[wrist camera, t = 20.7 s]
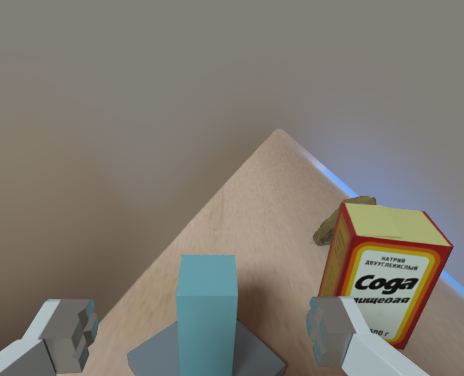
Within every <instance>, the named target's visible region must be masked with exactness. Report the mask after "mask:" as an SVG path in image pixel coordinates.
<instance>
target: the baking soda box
mask: <svg viewBox="0 0 464 376" xmlns="http://www.w3.org/2000/svg"><path fill="white" fill-rule="evenodd" d="M453 247H454V246H453V245H452V244H451V243H450V241H449V240H448V239H447V238H446V237H445V235H444V234H443V233H442V232H441V231H440V230H439V228H438V227H437V226H436V225H435V223H434V222H433V221H432V220H431V218H430V217H429V216H428V215H427V214H426V212H424V211H414V210H405V209H395V208H386V207H384V206H380V205H379V206H378V205H366V204H352V203H341V205H340V209H339V213H338V217H337V221H336V225H335V229H334V233H333V237H332V241H331V245H330V249H329V253H328V257H327V261H326V265H325V270H324V274H323V278H322V282H321V286H320V290H319V294H318V297H330V296H337V297H338V296H351V297H352V298H354V300H355V302H356V304H357V306H358V308H359V310H360V312H361V314H362V316H363V317H364V319H365V321H366V323H367V325H368V327H369V329H370V331H371V333H376V334H377V335H378V336H380V337H381V338H382V339H384V340H385V341H386V342H387V343H389V344H390V345H391V346H392V347H394V348H395V349H402V350H404V348H405V346H406V344H407V342H408V340H409V338H410V336H411V334H412V332H413V330H414V328H415V326H416V323H417V321H418V319H419V317H420V315H421V313H422V311H423V309H424V307H425V305H426V303H427V301H428V299H429V297H430V295H431V293H432V290H433V288H434V286H435V284H436V282H437V280H438V278H439V276H440V274H441V272H442V270H443V268H444V266H445V264H446V262H447V260H448V257H449V255H450V253H451V251H452V249H453Z"/></svg>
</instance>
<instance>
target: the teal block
mask: <svg viewBox="0 0 464 376" xmlns="http://www.w3.org/2000/svg"><path fill="white" fill-rule="evenodd" d="M176 304H177V323H178V343H179V362H180V376H232V367H233V354H234V341H235V329H236V316H237V304H238V289H237V276H236V264H235V255H182V260H181V267H180V273H179V280H178V287H177V293H176Z"/></svg>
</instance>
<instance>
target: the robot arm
mask: <svg viewBox="0 0 464 376" xmlns="http://www.w3.org/2000/svg"><path fill="white" fill-rule="evenodd" d="M310 307H311V310H310V311H309V312H308V314H307V330H308V334H309V337H310V339H311V340H312V341H313V342H314V343H315V344H314V348H313V350H314V354H315V357H316V360H317V363H318V366H319V367H342V369H343V370H344V371H345V373H346V374H347V375H348V376H429V375H428V374H427V373H426V372H424V371H423V370H422V369H421V368H419V367H418V366H417V365H415V364H414V363H413V362H412V361H410V360H409V359H408V358H407V357H405V356H404V355H403V354H401V353H400V352H399V351H398V350H396V349H395V348H394V347H392V346H391V345H390V344H389V343H387V342H386V341H385V340H384V339H382V338H381V337H380V336H378V335H377V334H376V333H371V331H370V329H369V327H368V325H367V323H366V321H365V319H364V317H363V316H362V314H361V312H360V310H359V308H358V306H357V304H356V302H355V300H354V298H352V297H351V296H338V297H337V296H330V297H312V298H311V300H310ZM94 308H95V305H94V302H93V300H87V299H48V300H47V301H46V302H45V303H44V304H43V306H42V308H41V309H40V311H39V312H38V314H37V316H36V317H35V319H34V320H33V322H32V324H31V325H30V327H29V328H28V330H27V331H26V333H25V335H24V336H23V338H22V339H21V340H16V341H15V342H13V343H12V344H10V345H9V346H8V347H6V348H5V349H3V350H2V351H1V352H0V376H56V374H66V373H82V371H83V369H84V366H85V364H86V361H87V359H88V356H89V351H88V347H89V346H90V345H91V344H92V343H93V342H94V340H95V338H96V335H97V330H98V317H97V315H96V314H95V313H94V312H93V310H94Z"/></svg>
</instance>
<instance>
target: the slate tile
mask: <svg viewBox="0 0 464 376" xmlns="http://www.w3.org/2000/svg"><path fill="white" fill-rule="evenodd" d="M127 358H128V364H129V367H130V368H131V370H132V371H133V373H134V375H135V376H180V362H179V343H178V323H177V321H176V322H175V323H173V324H172V325H170V326H169V327H167V328H166V329H164V330H162V331H161V332H159V333H158V334H156V335H155V336H153V337H152V338H150V339H149V340H147V341H146V342H144V343H143V344H141V345H140V346H138V347H137V348H135V349H134V350H132V351H131V352H129V353H128V354H127ZM285 366H286V364H285V363H284V362H283V361H282V360H281V359H280V358H279V357H278V356H276V355H275V354H274V353H273V352H272V351H271V350H270V349H269V348H268V347H267V346H266V345H265V344H264V343H262V342H261V341H260V340H259V339H258V338H257V337H256V336H255V335H254V334H253V333H252V332H251V331H249V330H248V329H247V328H246V327H245V326H244V325H243V324H242V323H241V322H240V321H239V320H238V319H237V318H236V329H235V341H234V354H233V367H232V376H283V375H284V371H285Z"/></svg>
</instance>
